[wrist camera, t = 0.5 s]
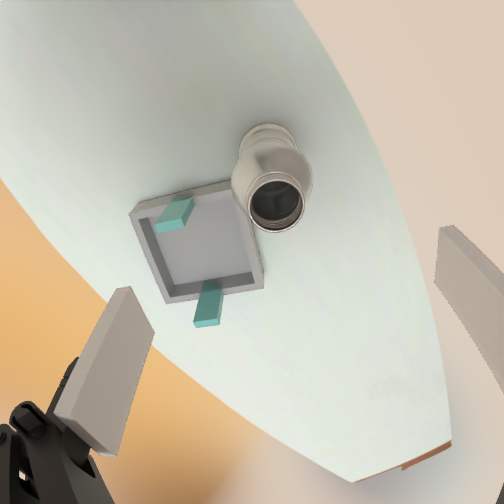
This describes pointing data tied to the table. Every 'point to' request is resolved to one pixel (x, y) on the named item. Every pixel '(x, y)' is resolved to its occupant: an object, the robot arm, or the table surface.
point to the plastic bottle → (271, 178)
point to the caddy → (199, 248)
